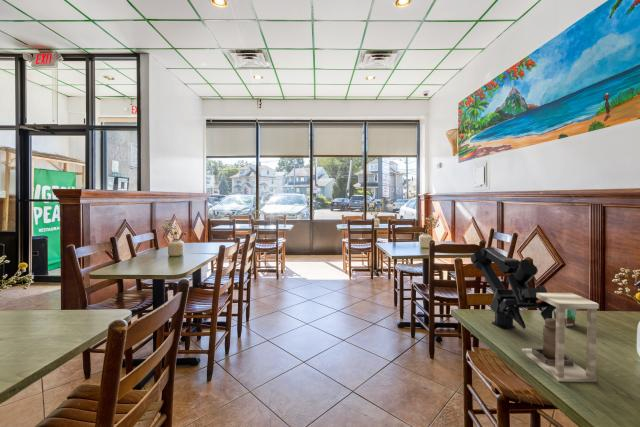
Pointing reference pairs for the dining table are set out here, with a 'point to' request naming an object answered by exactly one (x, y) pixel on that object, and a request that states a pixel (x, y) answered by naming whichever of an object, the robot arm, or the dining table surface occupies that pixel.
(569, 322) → the food container
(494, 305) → the robot arm
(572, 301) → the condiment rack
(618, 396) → the dining table surface
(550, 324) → the pepper mill
